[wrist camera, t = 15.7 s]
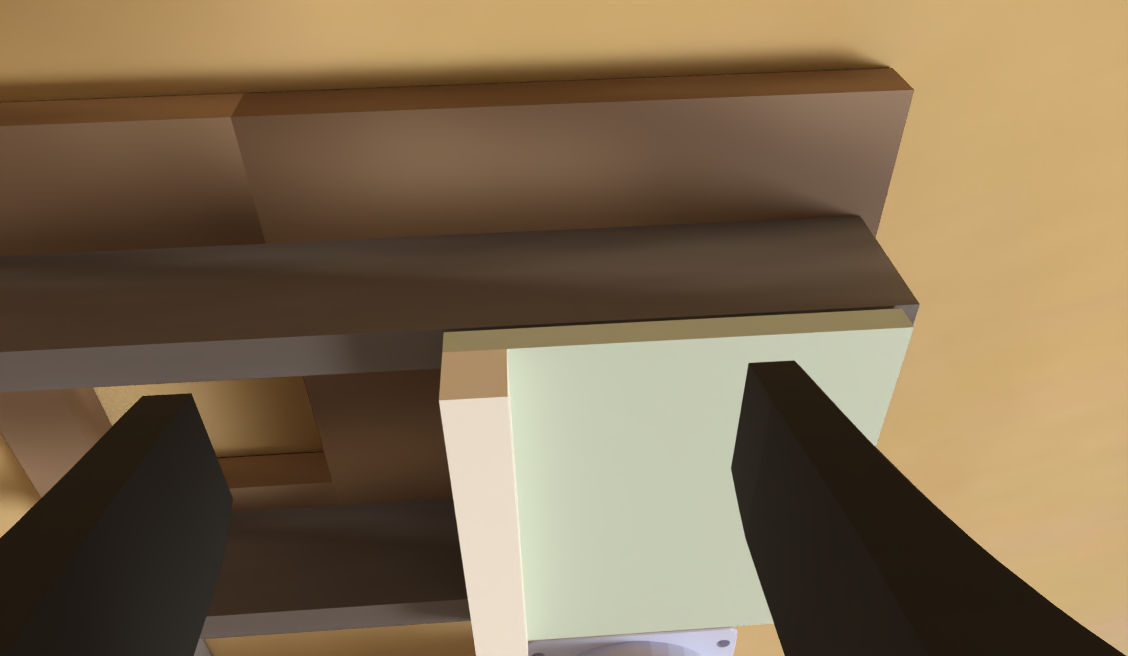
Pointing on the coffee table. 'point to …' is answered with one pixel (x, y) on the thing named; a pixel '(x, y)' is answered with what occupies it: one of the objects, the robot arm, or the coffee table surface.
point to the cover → (627, 464)
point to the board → (405, 277)
